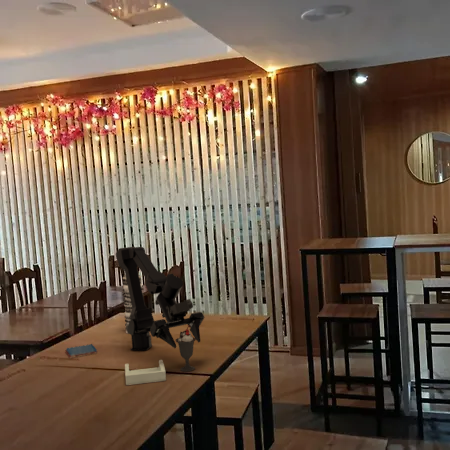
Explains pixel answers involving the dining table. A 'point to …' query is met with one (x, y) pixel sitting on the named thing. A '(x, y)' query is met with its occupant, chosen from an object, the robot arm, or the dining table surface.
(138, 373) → the end cap
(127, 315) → the decorative candle
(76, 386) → the dining table surface
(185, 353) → the sundae
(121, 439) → the dining table surface
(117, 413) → the dining table surface
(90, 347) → the woven mat
